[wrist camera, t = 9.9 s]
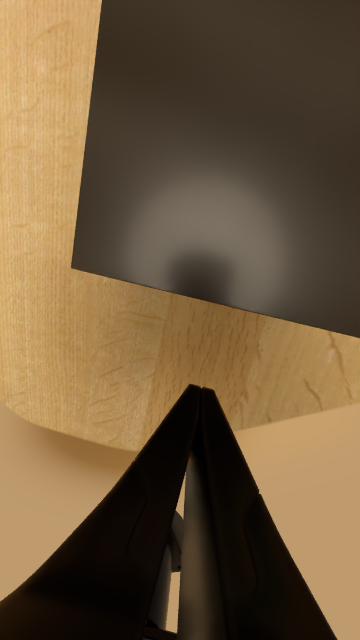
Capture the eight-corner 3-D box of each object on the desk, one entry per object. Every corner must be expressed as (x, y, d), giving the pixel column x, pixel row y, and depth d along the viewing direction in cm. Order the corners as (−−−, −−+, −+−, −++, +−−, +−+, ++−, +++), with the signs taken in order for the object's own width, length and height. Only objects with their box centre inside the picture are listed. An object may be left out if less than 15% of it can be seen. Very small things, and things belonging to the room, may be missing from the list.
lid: (128, -140, 9) (121, -179, 8) (521, -67, 8) (553, -99, 8) (78, 267, 12) (70, 268, 12) (352, 333, 12) (362, 339, 11)
